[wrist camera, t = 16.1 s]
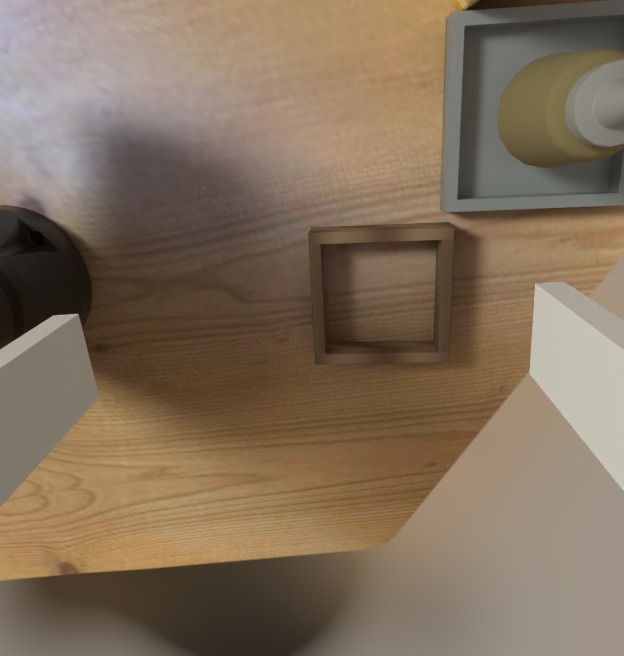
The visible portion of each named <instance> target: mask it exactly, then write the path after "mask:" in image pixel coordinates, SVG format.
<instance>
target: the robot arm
mask: <svg viewBox="0 0 624 656" xmlns="http://www.w3.org/2000/svg"><path fill="white" fill-rule="evenodd" d="M90 304H91V284H90V278H89V274H88V271H87V268H86V265H85V263H84V261H83V259H82V257H81V255H80V253H79V251H78V250H77V248H76V247H75V245H74V244H73V243H72V241H71V240H70V239H69V238H68V237H67V236H66V234H65V233H64V232H63V231H61V230H60V229H59V228H58V227H57V226H56V225H55V224H53V223H52V222H50V221H49V220H47V219H46V218H44V217H42V216H41V215H39V214H37V213H34V212H32V211H30V210H27V209H23V208H20V207H15V206H7V205H0V506H1V505H2V504H3V503H4V502H5V501H6V500H7V499H8V498H9V496H10V495H11V494H12V493H13V492H14V491H15V490H16V489H17V488H18V486H19V485H20V484H21V483H22V482H23V481H24V480H25V479H26V478H27V476H28V475H29V474H30V473H31V472H32V471H33V470H34V469H35V468H36V467H37V465H38V464H39V463H40V462H41V461H42V460H43V459H44V458H45V457H46V455H47V454H48V453H49V452H50V451H51V450H52V449H53V448H54V447H55V446H56V444H57V443H58V442H59V441H60V440H61V439H62V438H63V437H64V436H65V434H66V433H67V432H68V431H69V430H70V429H71V428H72V427H73V426H74V424H75V423H76V422H77V421H78V420H79V419H80V418H81V417H82V416H83V415H84V413H85V412H86V411H87V410H88V409H89V408H90V407H91V406H92V405H93V403H94V402H95V401H96V400H97V399H98V398H99V394H98V390H97V386H96V382H95V378H94V374H93V370H92V366H91V362H90V358H89V354H88V350H87V346H86V342H85V338H84V334H83V330H82V326H83V325H84V323H85V321H86V319H87V316H88V313H89V309H90ZM530 375H531V376H532V377H533V379H534V380H535V381H536V382H537V384H538V385H539V386H540V387H541V389H542V390H543V391H544V392H545V393H546V395H547V396H548V397H549V399H550V400H551V401H552V402H553V404H554V405H555V406H556V407H557V409H558V410H559V411H560V412H561V414H562V415H563V416H564V417H565V419H566V420H567V421H568V422H569V423H570V425H571V426H572V427H573V429H574V430H575V431H576V432H577V434H578V435H579V436H580V437H581V438H582V440H583V441H584V442H585V443H586V445H587V446H588V447H589V448H590V450H591V451H592V452H593V453H594V455H595V456H596V457H597V458H598V460H599V461H600V462H601V463H602V465H603V466H604V467H605V468H606V470H607V471H608V472H609V473H610V475H611V476H612V477H613V478H614V480H615V481H616V482H617V483H618V484H619V486H620V487H621V488H622V490H623V491H624V320H622V319H620V318H619V317H617V316H616V315H614V314H613V313H611V312H610V311H608V310H607V309H605V308H604V307H602V306H600V305H599V304H597V303H596V302H594V301H593V300H591V299H590V298H588V297H587V296H585V295H584V294H582V293H581V292H579V291H577V290H576V289H574V288H573V287H571V286H570V285H568V284H567V283H565V282H551V283H536V284H535V298H534V313H533V328H532V343H531V359H530Z"/></svg>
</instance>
